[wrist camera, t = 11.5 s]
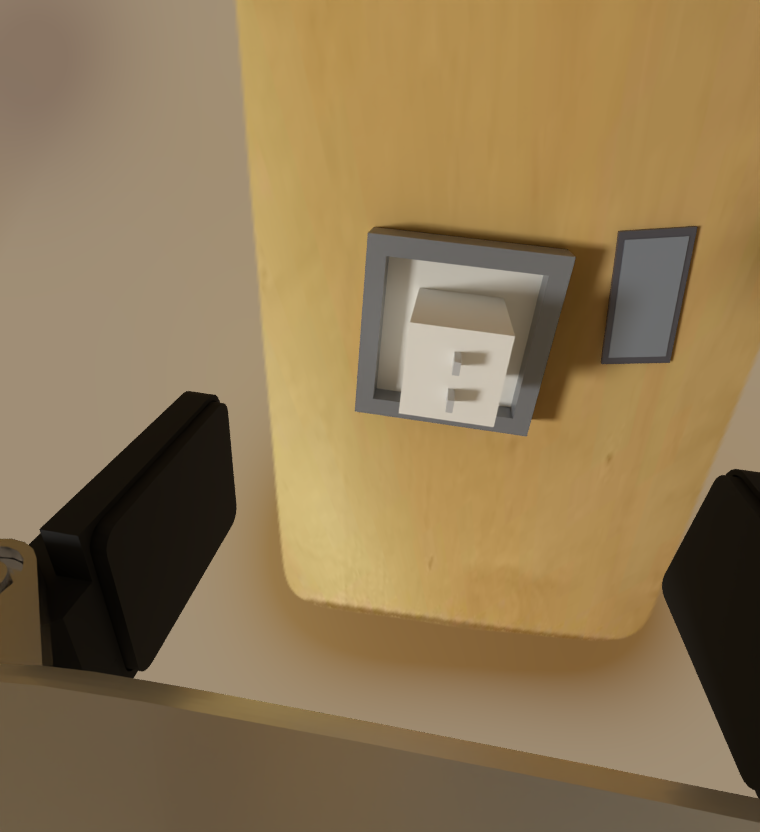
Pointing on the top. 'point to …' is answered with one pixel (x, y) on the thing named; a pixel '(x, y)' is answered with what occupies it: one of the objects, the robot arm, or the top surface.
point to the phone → (646, 294)
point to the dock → (464, 273)
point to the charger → (456, 357)
